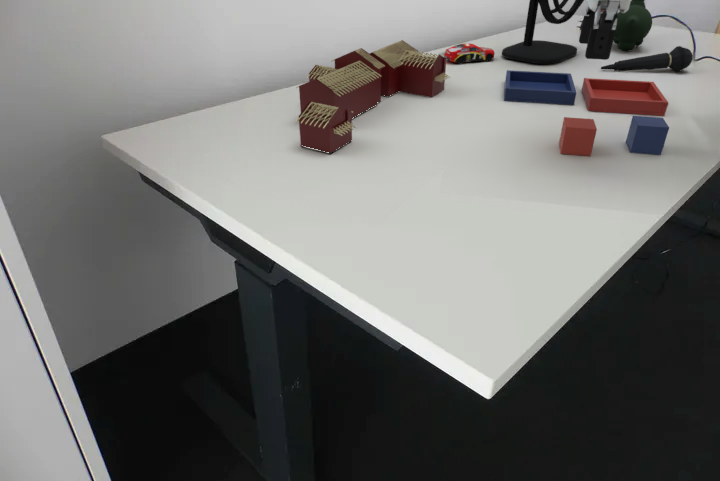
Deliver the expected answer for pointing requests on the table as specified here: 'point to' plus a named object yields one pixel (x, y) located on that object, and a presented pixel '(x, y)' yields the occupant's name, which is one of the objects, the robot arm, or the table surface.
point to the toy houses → (362, 89)
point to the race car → (468, 53)
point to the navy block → (647, 135)
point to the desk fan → (543, 49)
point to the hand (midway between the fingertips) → (592, 50)
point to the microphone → (656, 61)
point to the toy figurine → (632, 26)
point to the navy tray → (539, 87)
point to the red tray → (623, 97)
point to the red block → (577, 136)
